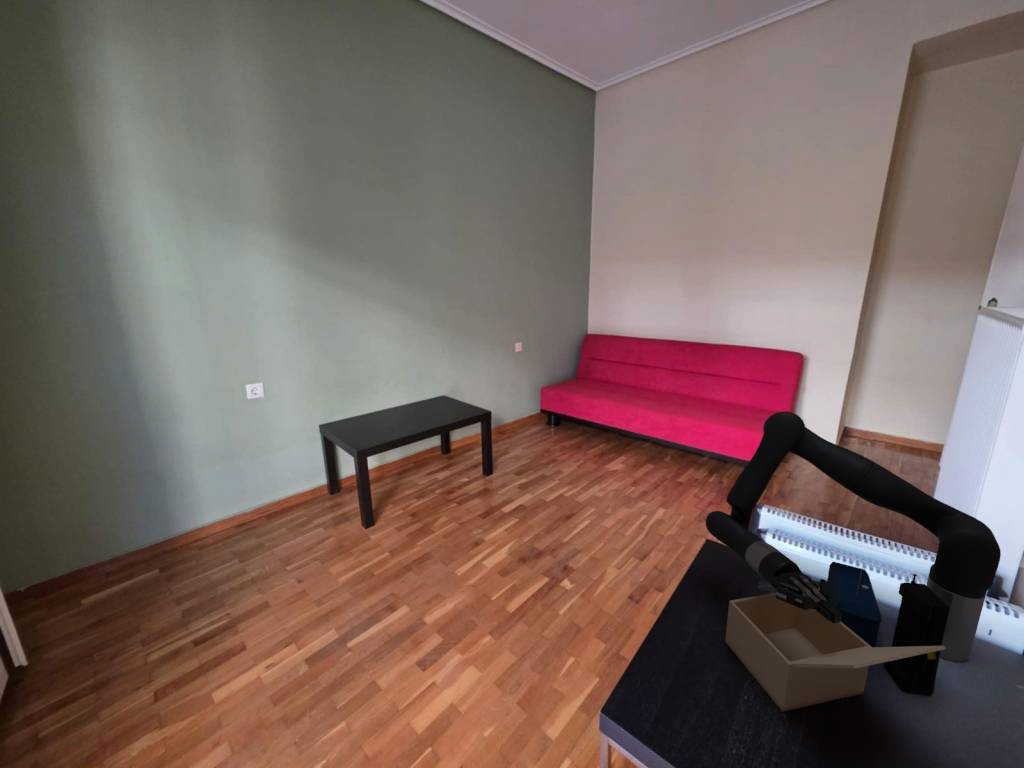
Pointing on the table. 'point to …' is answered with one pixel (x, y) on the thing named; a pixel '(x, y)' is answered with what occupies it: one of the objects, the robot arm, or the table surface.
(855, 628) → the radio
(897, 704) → the table surface
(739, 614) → the kraft carton
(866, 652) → the carton flap
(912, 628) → the portable radio
